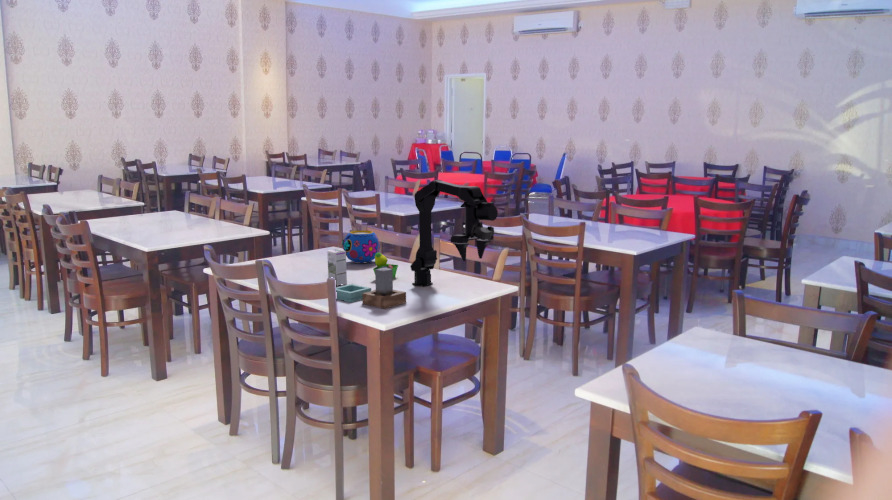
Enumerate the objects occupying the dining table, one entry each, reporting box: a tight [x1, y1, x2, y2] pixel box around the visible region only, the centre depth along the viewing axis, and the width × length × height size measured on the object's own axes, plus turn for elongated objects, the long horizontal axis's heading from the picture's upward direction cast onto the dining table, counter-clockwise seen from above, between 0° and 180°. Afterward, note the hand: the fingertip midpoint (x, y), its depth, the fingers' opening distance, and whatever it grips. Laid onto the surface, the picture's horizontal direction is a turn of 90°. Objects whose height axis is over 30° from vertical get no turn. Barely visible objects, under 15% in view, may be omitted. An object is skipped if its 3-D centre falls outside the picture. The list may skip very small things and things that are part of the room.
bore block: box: [362, 289, 407, 310], centre depth 257 cm, size 12×12×4 cm
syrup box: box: [326, 248, 348, 286], centre depth 287 cm, size 6×6×14 cm
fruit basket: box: [372, 252, 399, 278], centre depth 299 cm, size 11×9×11 cm
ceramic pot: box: [341, 229, 381, 264], centre depth 333 cm, size 18×18×15 cm
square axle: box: [374, 268, 394, 296], centre depth 256 cm, size 4×4×13 cm
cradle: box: [335, 283, 372, 303], centre depth 267 cm, size 13×13×3 cm
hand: (472, 259), depth 266 cm, fingers open, 9 cm apart
